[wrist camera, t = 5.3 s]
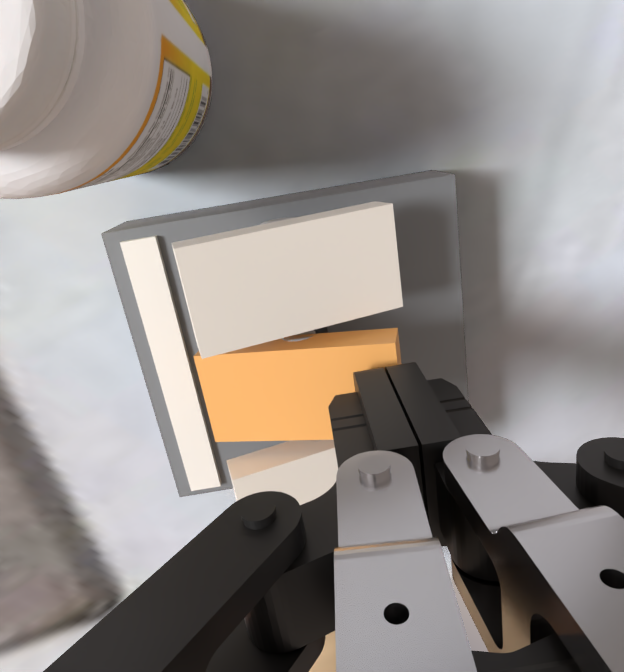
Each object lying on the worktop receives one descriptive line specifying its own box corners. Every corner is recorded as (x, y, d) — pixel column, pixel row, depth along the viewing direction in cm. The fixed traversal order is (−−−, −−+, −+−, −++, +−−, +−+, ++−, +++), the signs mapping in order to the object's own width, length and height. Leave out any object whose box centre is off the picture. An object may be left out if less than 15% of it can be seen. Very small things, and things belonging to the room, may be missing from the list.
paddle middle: (214, 335, 15) (193, 356, 14) (398, 321, 14) (394, 343, 12) (233, 415, 16) (215, 442, 14) (407, 409, 14) (405, 438, 13)
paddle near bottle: (170, 240, 13) (174, 248, 11) (368, 200, 14) (392, 203, 12) (195, 340, 13) (201, 359, 12) (379, 293, 15) (403, 306, 13)
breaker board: (126, 221, 17) (82, 242, 13) (431, 170, 17) (472, 177, 13) (192, 455, 20) (171, 525, 16) (449, 413, 20) (485, 473, 16)
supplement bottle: (6, -35, 14) (-547, -392, 5) (208, -32, 15) (67, -367, 5) (42, 176, 16) (-302, 220, 7) (221, 175, 17) (135, 217, 7)
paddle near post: (223, 452, 15) (232, 480, 13) (391, 400, 16) (414, 422, 14) (242, 526, 15) (252, 559, 14) (400, 472, 17) (422, 498, 15)
